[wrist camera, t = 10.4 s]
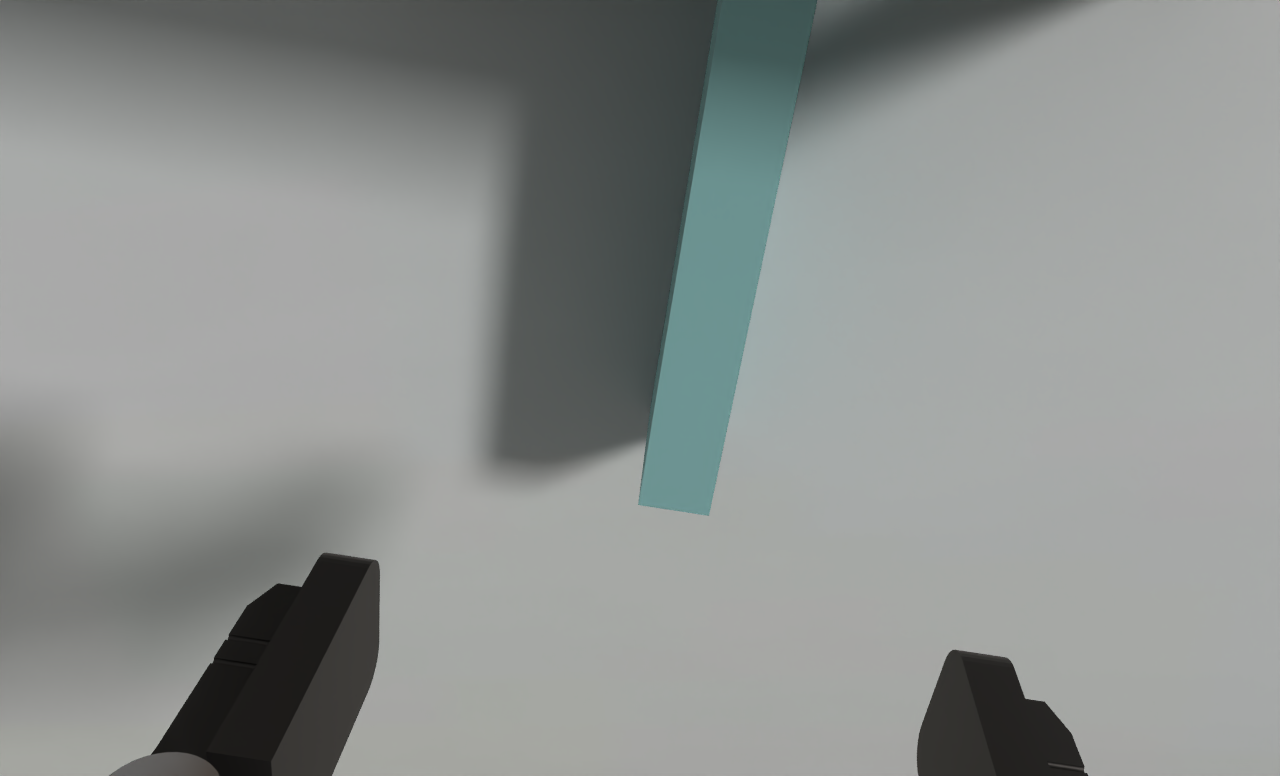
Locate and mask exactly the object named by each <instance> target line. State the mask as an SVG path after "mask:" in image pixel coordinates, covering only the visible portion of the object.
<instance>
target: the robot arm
mask: <svg viewBox="0 0 1280 776" xmlns="http://www.w3.org/2000/svg"><path fill="white" fill-rule="evenodd" d="M379 602H380V569H379V563H378V561H376V560H371V559H365V558H358V557H351V556H345V555H338V554H332V553H323V554H322V555H321V556H320V557H319V559H318V560H317V562H316V563H315V565H314V567H313V569H312V570H311V572H310V574H309V575H308V577H307V579H306V581H305V582H304V584H303V586H302V587H298V586H291V585H285V584H276V585H275V586H274V587H272V588H271V589H270V590H268V591H267V592H265V593H264V594H263V595H261V596H260V597H259V598H257V599H256V600H255V601H253V602H252V603H250V604H249V605H248V606H247V607H246V608H245V610H244V611H243V613H242V615H241V616H240V618H239V619H238V621H237V622H236V624H235V626H234V627H233V629H232V630H231V632H230V633H229V637H228V640H225V641H224V643H223V644H222V646H221V647H220V649H219V651H218V652H217V654H216V655H215V657H214V661H213V663H212V664H211V663H210V665H209V666H208V668H207V669H206V671H205V672H204V674H203V676H202V677H201V679H200V680H199V682H198V683H197V685H196V686H195V688H194V690H193V691H192V693H191V694H190V696H189V697H188V699H187V701H186V702H185V704H184V705H183V707H182V708H181V710H180V711H179V713H178V715H177V716H176V718H175V719H174V721H173V722H172V724H171V725H170V727H169V729H168V730H167V732H166V733H165V735H164V736H163V738H162V740H161V741H160V743H159V744H158V746H157V747H156V749H155V750H154V751H153V753H152V754H151V755H149V756H145V757H142V758H139V759H137V760H134V761H132V762H130V763H128V764H126V765H124V766H122V767H121V768H119V769H118V770H116V771H115V772H113V773H112V774H111V775H110V776H332V774H333V772H334V769H335V767H336V765H337V762H338V760H339V758H340V756H341V753H342V751H343V749H344V746H345V744H346V742H347V739H348V737H349V735H350V732H351V730H352V728H353V725H354V723H355V721H356V718H357V716H358V714H359V711H360V709H361V707H362V704H363V702H364V700H365V697H366V695H367V693H368V690H369V688H370V685H371V682H372V679H373V675H374V672H375V667H376V663H377V657H378V650H379ZM917 768H918V775H919V776H1088V775H1087V773H1084V764H1083V762H1082V759H1081V757H1080V754H1079V752H1078V749H1077V747H1076V744H1075V742H1074V739H1073V736H1072V734H1071V732H1070V731H1069V730H1068V729H1067V728H1066V727H1065V725H1064V724H1063V723H1062V722H1061V721H1060V719H1059V718H1058V717H1057V716H1056V715H1055V714H1054V712H1053V711H1052V710H1051V709H1050V708H1049V706H1048V705H1047V704H1046V703H1045V702H1042V701H1036V700H1029V699H1025V697H1024V694H1023V692H1022V689H1021V686H1020V683H1019V680H1018V677H1017V675H1016V672H1015V669H1014V667H1013V664H1012V663H1011V661H1010V660H1009V659H1008V658H1005V657H999V656H992V655H986V654H979V653H973V652H966V651H959V650H952V651H951V652H950V653H949V654H948V656H947V657H946V660H945V662H944V665H943V668H942V671H941V673H940V676H939V679H938V682H937V684H936V687H935V690H934V693H933V695H932V698H931V701H930V704H929V706H928V709H927V712H926V715H925V717H924V720H923V723H922V726H921V729H920V733H919V739H918V747H917Z"/></svg>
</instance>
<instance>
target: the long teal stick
mask: <svg viewBox="0 0 1280 776" xmlns="http://www.w3.org/2000/svg"><path fill="white" fill-rule="evenodd" d="M816 4H817V0H717V6H716V13H715V19H714V25H713V31H712V37H711V43H710V49H709V55H708V61H707V67H706V73H705V79H704V85H703V91H702V98H701V104H700V110H699V116H698V122H697V128H696V134H695V140H694V146H693V152H692V158H691V164H690V170H689V177H688V183H687V189H686V195H685V201H684V207H683V213H682V219H681V225H680V231H679V237H678V243H677V249H676V256H675V262H674V268H673V274H672V280H671V286H670V292H669V298H668V304H667V310H666V316H665V322H664V328H663V335H662V341H661V347H660V353H659V359H658V365H657V371H656V377H655V383H654V389H653V395H652V401H651V407H650V415H649V423H648V431H647V439H646V447H645V455H644V463H643V471H642V479H641V487H640V495H639V503H638V505H643V506H649V507H656V508H662V509H669V510H675V511H682V512H688V513H695V514H701V515H707V516H709V512H710V508H711V503H712V498H713V493H714V489H715V484H716V479H717V474H718V470H719V465H720V460H721V455H722V451H723V446H724V441H725V436H726V432H727V427H728V422H729V417H730V413H731V408H732V403H733V398H734V394H735V389H736V384H737V379H738V375H739V370H740V365H741V360H742V356H743V351H744V346H745V341H746V337H747V332H748V327H749V322H750V318H751V313H752V308H753V303H754V299H755V294H756V289H757V284H758V280H759V275H760V270H761V265H762V261H763V256H764V251H765V246H766V242H767V237H768V232H769V227H770V223H771V218H772V213H773V208H774V204H775V199H776V194H777V189H778V185H779V180H780V175H781V170H782V166H783V161H784V156H785V151H786V147H787V142H788V137H789V132H790V128H791V123H792V118H793V113H794V109H795V104H796V99H797V94H798V90H799V85H800V80H801V75H802V71H803V66H804V61H805V56H806V52H807V47H808V42H809V37H810V33H811V28H812V23H813V18H814V14H815V9H816Z"/></svg>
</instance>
